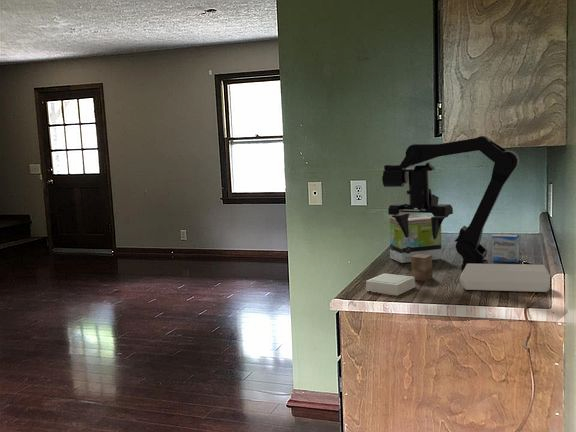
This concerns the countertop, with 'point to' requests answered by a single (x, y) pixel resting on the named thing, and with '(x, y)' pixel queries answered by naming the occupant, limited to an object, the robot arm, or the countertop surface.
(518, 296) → the countertop surface
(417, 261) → the walnut block
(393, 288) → the base slab
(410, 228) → the tea box
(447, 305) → the countertop surface
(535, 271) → the crystal
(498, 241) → the medicine box
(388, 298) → the countertop surface
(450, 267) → the countertop surface
